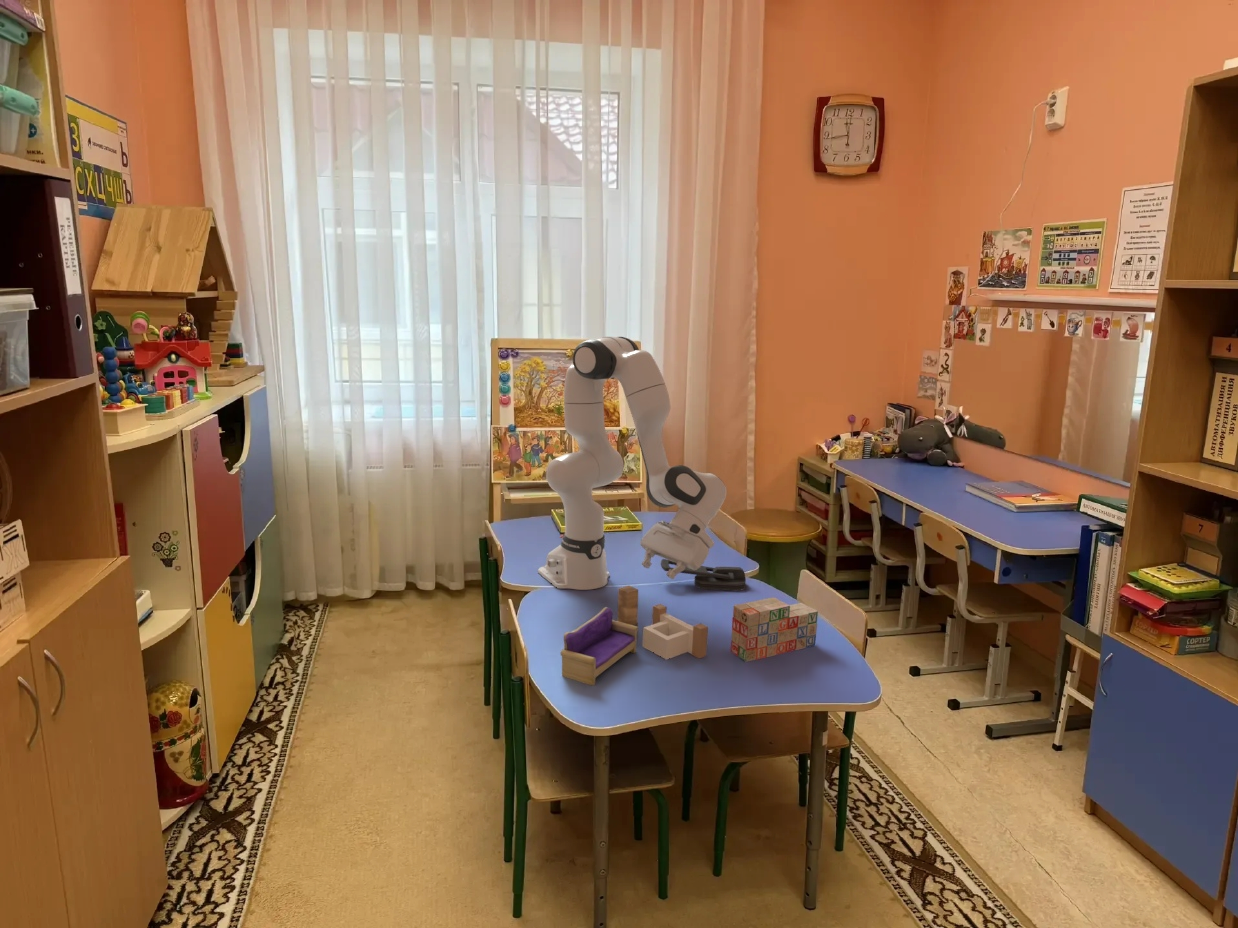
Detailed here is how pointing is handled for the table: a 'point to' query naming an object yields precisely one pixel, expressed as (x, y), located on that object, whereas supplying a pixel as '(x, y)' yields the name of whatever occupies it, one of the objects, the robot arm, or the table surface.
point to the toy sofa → (596, 646)
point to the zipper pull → (713, 576)
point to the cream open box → (674, 636)
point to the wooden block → (628, 605)
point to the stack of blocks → (771, 628)
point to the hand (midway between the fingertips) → (656, 571)
